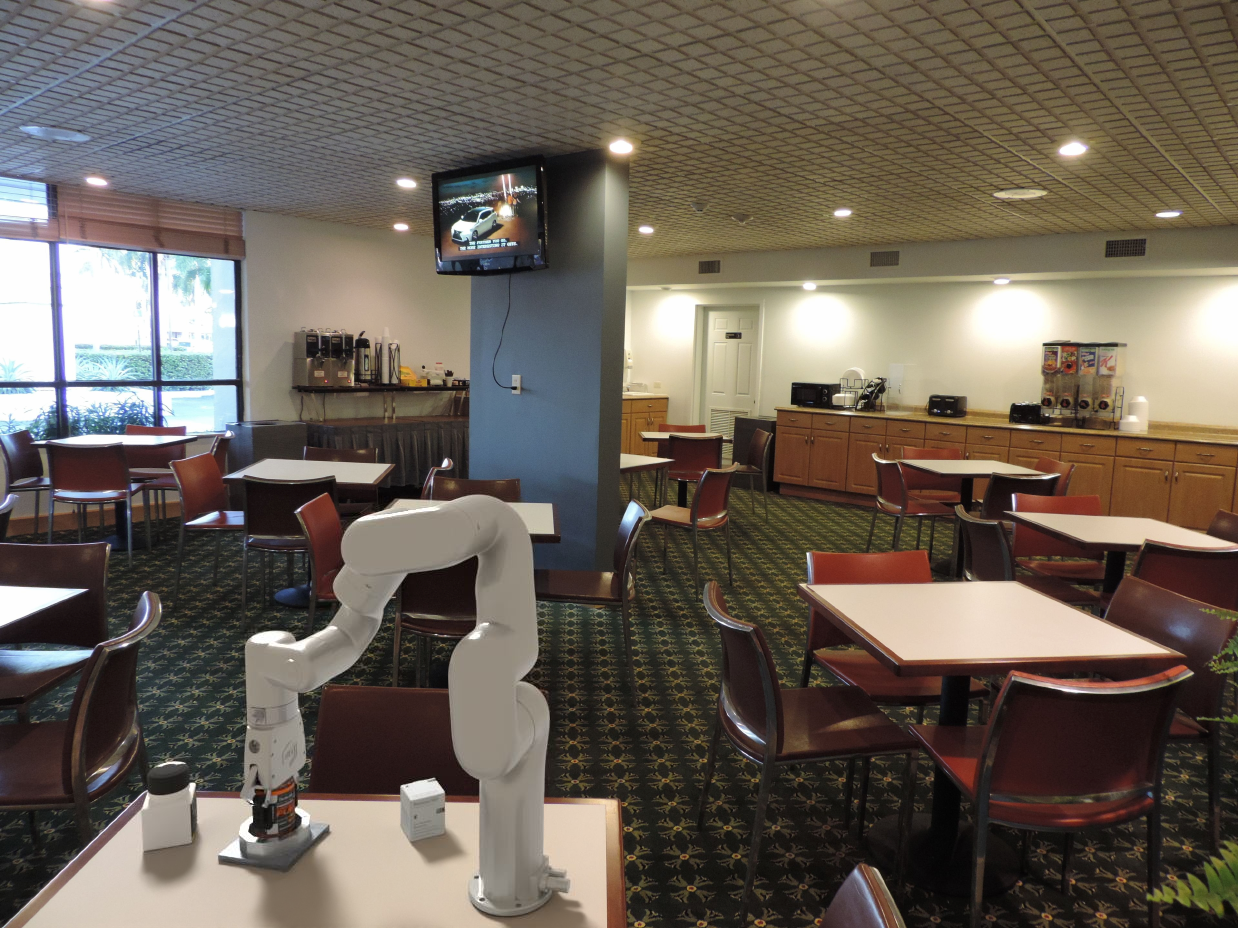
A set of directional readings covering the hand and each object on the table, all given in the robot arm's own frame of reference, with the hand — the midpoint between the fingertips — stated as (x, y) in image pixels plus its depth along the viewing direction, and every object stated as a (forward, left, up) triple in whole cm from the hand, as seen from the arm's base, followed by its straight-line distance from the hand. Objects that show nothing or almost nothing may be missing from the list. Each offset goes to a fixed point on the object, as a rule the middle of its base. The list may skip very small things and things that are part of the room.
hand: (275, 815), depth 132 cm
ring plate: (0, 0, -5) cm, 5 cm away
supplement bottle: (0, 0, -3) cm, 3 cm away
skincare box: (-21, -10, -5) cm, 24 cm away
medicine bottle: (+18, +2, -5) cm, 19 cm away
